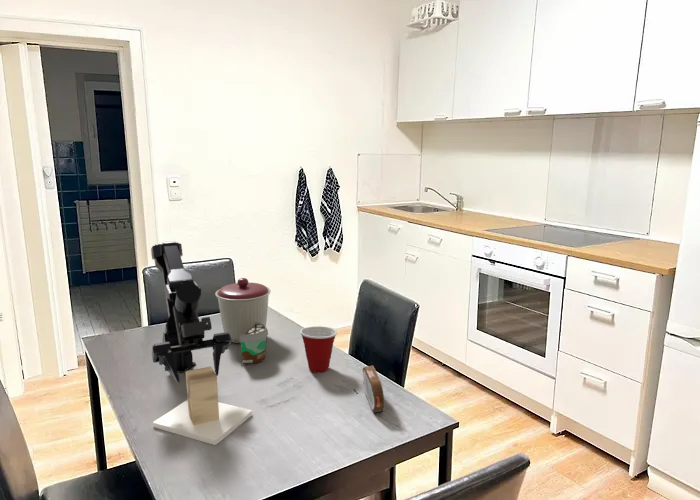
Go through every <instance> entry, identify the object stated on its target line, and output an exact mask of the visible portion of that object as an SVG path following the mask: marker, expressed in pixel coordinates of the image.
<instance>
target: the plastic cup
mask: <svg viewBox="0 0 700 500" xmlns="http://www.w3.org/2000/svg"><path fill="white" fill-rule="evenodd" d="M299 331H300V335H301V338H302V340H303V341H302V343H303V346H304V350H305V357H306V361H307V365H308V366H307V367H308V370H309V371H310V372H311V373H315V374H318V373H319V374H321V373H326V372H328V370H329V368H330V362H331V358H332V353H333V347H334V342H335V339H336V336H337V335H338V331H337V330H336V329H334V328H332V327H328V326H322V325H321V326H319V325H318V326H307V327H304V328H301V329H300V330H299Z"/></svg>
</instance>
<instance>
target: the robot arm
mask: <svg viewBox="0 0 700 500" xmlns="http://www.w3.org/2000/svg"><path fill="white" fill-rule="evenodd" d="M150 251H151V252H150V253H151V258H152V259H151V260H154V267H156V269H157V270H158V271H159V272H161V275H162V282H163V288H164V294H165V295H164V296H165V303H166V307H167V315H168V319H167V320H166V323H165V327H164V331H163V334H162V339H161V340H162V342H159V343H154V344H153V345H152V347H151V348H152V349H151V358H152V363H158V365H163V366H164V369H165V370H168V372H169V373H170V374H171V376H172V377H173V379H174V380H175V382H176V384H177V385H179V384H180V382H181V381H180V376H179V373H184V371H185V372H186V371H188V369H190V368H192V367H194V366H196V364H197V363H196V362H195V361H194V360H193V352H192V351H195V350H196V351H197V350H203V349H207V348H212V350H213V351H212V360H213V367H214V369H213V370H214V372H215V374H216V376H219V373H220V372H219V371H220V365H221V357H222V354H224V353H225V352H226V351H227V350H229V349H230V346H231V344H232V340H231V336H230V334H229V333H228V332H224V331H223V332H219V333H214V334H213V337H212V338H211V339H210V338H209V339H205V340H203V339H204V338H205V335H206V334H205V333H206V332H207V331H211V330H212V321H211V318H210V316H207V317H202V318H201V319H199V314H198V309H199V304H200V300H201V296H202V288H201V287H200V286H199V285H198V284H197V281H196V280H194V278H193V276H192V274H191V273H190V272H188V271H187V270H185V266H184V264H183V260H182V257H183V256H184V255H183V246H182V243H179V241H176V240H174V241H173V240H171V241H170V240H169V241H162V242H161V243H155V244H154V245H152V247H151V248H150Z"/></svg>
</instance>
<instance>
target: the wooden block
mask: <svg viewBox="0 0 700 500" xmlns="http://www.w3.org/2000/svg"><path fill="white" fill-rule="evenodd" d="M185 382H186V383H185V384H186V395H187V397H186V398H187V399H186V400H188V413H189V416H190V419H191V421H192V424H193V425H197V424H202V423H206V422H210V421H214V420H218V419H219V407H218V402H219V394H218V377H217V376H216V373H215V369H213V367H212V366H205V367H200V368H195V369H190V370H185Z"/></svg>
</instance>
